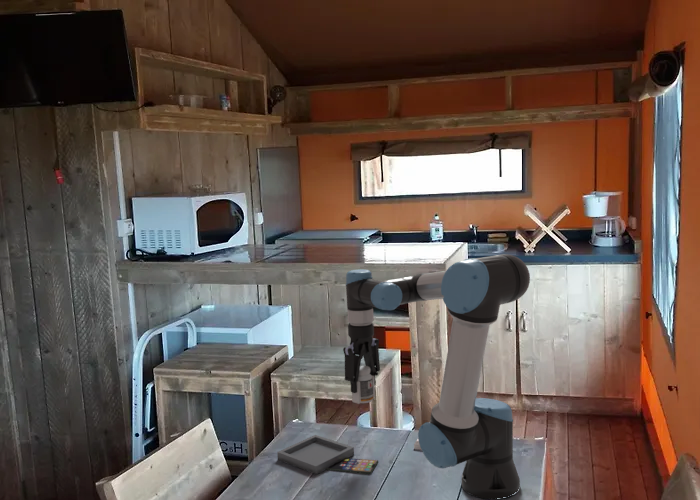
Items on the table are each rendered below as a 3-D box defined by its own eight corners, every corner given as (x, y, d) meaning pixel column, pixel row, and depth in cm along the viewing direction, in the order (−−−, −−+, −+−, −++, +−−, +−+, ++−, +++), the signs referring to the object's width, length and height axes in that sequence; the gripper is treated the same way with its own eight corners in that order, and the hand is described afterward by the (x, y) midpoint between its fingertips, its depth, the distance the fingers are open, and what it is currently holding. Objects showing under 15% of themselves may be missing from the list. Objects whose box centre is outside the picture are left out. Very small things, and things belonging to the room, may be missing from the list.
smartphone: (329, 459, 205) (329, 455, 205) (378, 463, 201) (378, 459, 201) (320, 470, 198) (320, 466, 198) (370, 476, 193) (370, 471, 193)
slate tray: (354, 455, 206) (353, 447, 206) (316, 474, 194) (315, 466, 194) (315, 442, 217) (315, 434, 217) (277, 459, 205) (277, 452, 205)
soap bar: (414, 450, 209) (413, 441, 209) (421, 438, 217) (420, 430, 217) (430, 451, 207) (430, 443, 207) (436, 440, 216) (436, 432, 215)
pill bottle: (377, 398, 206) (375, 366, 205) (367, 405, 201) (365, 371, 200) (360, 396, 209) (359, 364, 208) (350, 402, 204) (349, 369, 203)
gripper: (371, 315, 211) (374, 388, 214) (329, 327, 198) (332, 406, 201) (390, 318, 206) (393, 393, 209) (348, 331, 193) (352, 411, 196)
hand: (363, 399), depth 205 cm, fingers closed on pill bottle, 6 cm apart
